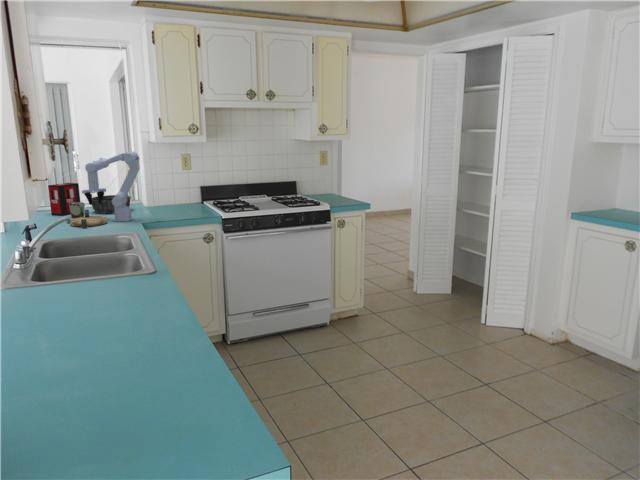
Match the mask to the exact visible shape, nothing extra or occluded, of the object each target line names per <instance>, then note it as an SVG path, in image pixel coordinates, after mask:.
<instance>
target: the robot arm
mask: <svg viewBox="0 0 640 480" xmlns="http://www.w3.org/2000/svg"><path fill="white" fill-rule="evenodd" d="M119 161H121V162H124V163H125V164H126V165H127V166H128V168H129V170H128V172H127V174H126V176H125V178H124V180H123V183H122V185H121V186H120V189H119V191H118V192H117V193H116V194H115V195H116V196H115V197H114V198H113V199H112V204H113V205H114V220H113V219H112V222H130V221H131V220H133V218H132V208H131V206H129V207H127V206H126V203H127V197H128V196H129V192H130V191H131V188H132V186H133V184H134V182H135V180H136V177H137V175H138V174H139V172H140V168H141V167H140V157H139V155H138V153H137V152H135V151H129V152H128V151H126V152H123V153H118V154H117V155H114V156H112V157H109V158H103V157H100V158H99V159H98V160H93V161H92V162H88V163H87V164H85V167H84V168H85V169H84V170H85V172H87V182H88V183H87V184H88V189H82V190H81V194H82V195H84V196H85V198H86V199H87V201H88V204H89V205H90V206H92V198H93V193H94V194H95V193H96V195H97V196H98V202H99V204H101V203H102V198H103V196H105V192H107V189H106V188H105V187H104V188H100V184H99V176H98V175H99V174H98V171H100V170H104V169H106V168H108V167H109V166H110V165H111V164H113V163H116V162H119Z"/></svg>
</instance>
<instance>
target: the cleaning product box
mask: <svg viewBox="0 0 640 480" xmlns="http://www.w3.org/2000/svg"><path fill="white" fill-rule="evenodd" d="M47 188H48V197H49V205H50V212H51V216H53V217H56V216H57V217H64V216H69V215H70V216H71V212H70V207H69V203H71V202H81V196H80V187H79V182H78V183H77V182H65V183H58V184H50V185H48V186H47Z"/></svg>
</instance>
